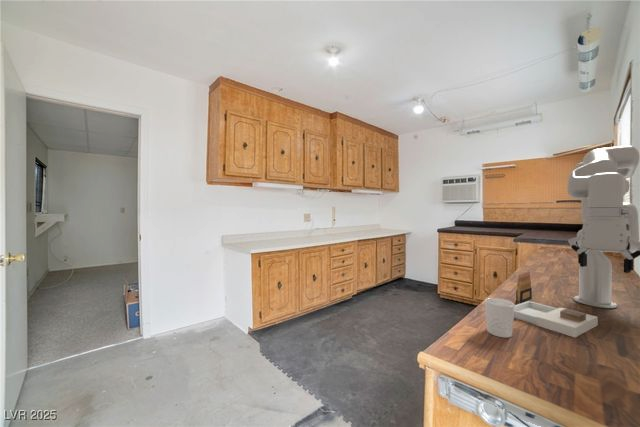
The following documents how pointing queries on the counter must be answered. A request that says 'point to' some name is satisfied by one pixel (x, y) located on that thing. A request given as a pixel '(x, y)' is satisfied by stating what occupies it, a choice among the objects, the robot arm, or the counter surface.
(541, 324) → the platform
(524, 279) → the ammunition clip
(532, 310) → the box
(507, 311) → the white cup
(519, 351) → the counter surface
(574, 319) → the walnut tile
